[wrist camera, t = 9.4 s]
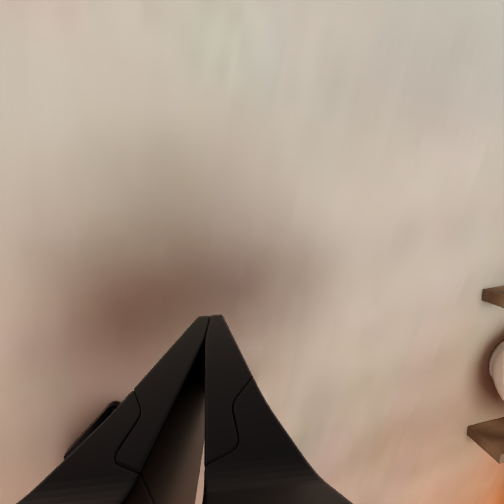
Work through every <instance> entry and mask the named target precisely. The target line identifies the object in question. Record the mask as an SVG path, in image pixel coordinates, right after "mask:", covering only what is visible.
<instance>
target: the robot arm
mask: <svg viewBox="0 0 504 504" xmlns="http://www.w3.org/2000/svg"><path fill="white" fill-rule="evenodd" d="M112 408H115V410H113V409H112ZM204 438H205V456H204V466H205V473H204V495H203V502H202V504H353V503H352V502H350V501H349V500H348V499H347V498H345V497H344V496H343V495H341V494H340V493H339V492H338V491H336V490H335V489H334V488H333V487H331V486H330V485H329V484H328V483H326V482H325V481H324V480H323V479H322V478H321V477H320V476H319V475H318V474H317V473H316V472H315V470H314V469H313V468H312V467H311V466H310V464H309V463H308V462H307V460H306V459H305V458H304V456H303V455H302V453H301V452H300V451H299V449H298V448H297V446H296V445H295V443H294V442H293V441H292V439H291V438H290V436H289V435H288V433H287V432H286V431H285V429H284V428H283V426H282V425H281V423H280V422H279V421H278V419H277V418H276V416H275V415H274V413H273V412H272V410H271V408H270V407H269V405H268V404H267V402H266V400H265V399H264V397H263V395H262V393H261V391H260V390H259V388H258V386H257V384H256V382H255V380H254V379H253V376H252V374H251V372H250V370H249V368H248V366H247V364H246V362H245V360H244V358H243V356H242V354H241V352H240V350H239V348H238V346H237V344H236V342H235V340H234V338H233V336H232V334H231V332H230V330H229V327H228V325H227V323H226V321H225V319H224V317H223V316H222V315H212V316H211V317H210V316H201V317H198V318H197V319H196V320H195V321H194V322H193V323H192V324H191V326H190V327H189V328H188V329H187V330H186V331H185V332H184V333H183V335H182V336H181V337H180V338H179V339H178V340H177V341H176V342H175V344H174V345H173V346H172V347H171V348H170V349H169V350H168V351H167V353H166V354H165V355H164V356H163V357H162V358H161V359H160V360H159V362H158V363H157V364H156V365H155V366H154V367H153V368H152V369H151V370H150V372H149V373H148V374H147V375H146V376H145V377H144V378H143V379H142V381H141V382H140V383H139V384H138V385H137V386H136V387H135V388H134V391H132V392H131V393H130V394H129V395H128V396H127V397H126V398H125V400H124V401H123V402H122V403H121V404H119V403H117V402H113V403H110V404H109V405H108V406H107V408H106V409H105V410H104V411H103V412H102V413H101V414H100V415H99V416H98V417H97V418H96V420H95V421H94V422H93V423H92V424H91V425H90V426H89V427H88V428H87V429H86V430H85V432H84V433H83V434H82V435H81V436H80V437H79V438H78V439H77V440H76V441H75V443H74V444H73V445H72V446H71V447H70V448H69V449H68V450H67V452H66V454H65V456H64V459H65V460H64V461H63V462H62V463H61V464H60V465H59V466H58V467H57V468H56V469H55V470H53V471H52V472H51V473H50V474H49V475H48V476H47V477H46V478H45V479H44V480H43V481H42V482H41V483H40V484H39V485H38V486H37V487H36V488H35V489H33V490H32V491H31V492H30V493H29V494H28V495H27V496H25V497H24V498H23V499H22V500H20V501H19V502H18V503H16V504H195V499H196V492H197V485H198V479H199V472H200V465H201V458H202V452H203V445H204Z"/></svg>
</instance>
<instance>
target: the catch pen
mask: <svg viewBox="0 0 504 504" xmlns="http://www.w3.org/2000/svg"><path fill="white" fill-rule="evenodd" d="M482 300H483V301H486V302H489V303H491V304H494V305H497V306H500V307H503V308H504V286H501V287H495V288H488V289H483V295H482ZM467 435H468V436H469V437H470V438H471V439H472V440H474V441H475V442H476V443H477V444H478V445H479V446H480V447H481V448H482V449H484V450H485V451H486V452H487V453H488V454H489V455H490V456H491V457H492V458H494V459H495V460H496V461H497V462H498V463H499V464H500V463H504V418H500V419H496V420H492V421H488V422H484V423H480V424H476V425H472V426H468V433H467Z"/></svg>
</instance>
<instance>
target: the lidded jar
mask: <svg viewBox="0 0 504 504" xmlns="http://www.w3.org/2000/svg"><path fill="white" fill-rule="evenodd" d="M489 373H490V375H491V377H492V378H493V380H494V384H495V387H496V389H497V391H498V393H499V395H500V397H501V398H502V400H503V401H504V341H502V342H501V343H500V344H499V345H498V346H497V347H496V348H495V350H494V351H493V353H492V355H491V358H490V361H489Z"/></svg>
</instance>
